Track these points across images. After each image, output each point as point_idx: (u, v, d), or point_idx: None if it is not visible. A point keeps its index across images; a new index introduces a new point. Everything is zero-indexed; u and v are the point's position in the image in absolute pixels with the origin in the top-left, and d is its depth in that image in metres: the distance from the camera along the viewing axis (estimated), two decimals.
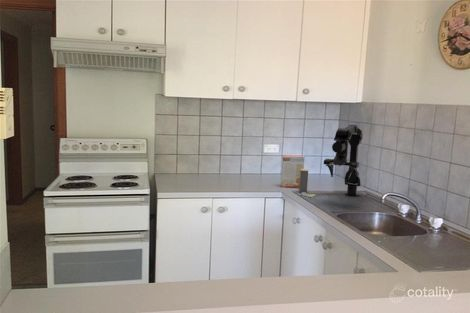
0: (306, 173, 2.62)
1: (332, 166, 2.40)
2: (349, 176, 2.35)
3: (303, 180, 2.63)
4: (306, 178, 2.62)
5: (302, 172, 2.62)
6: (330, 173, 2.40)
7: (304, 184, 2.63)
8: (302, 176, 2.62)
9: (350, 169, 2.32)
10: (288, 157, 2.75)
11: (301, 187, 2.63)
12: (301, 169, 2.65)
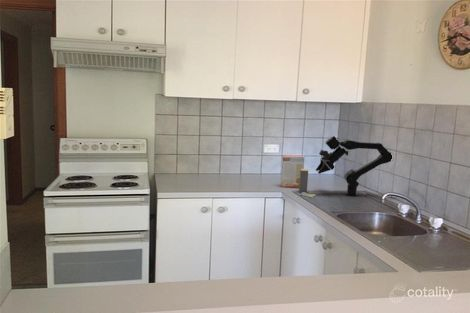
0: (306, 173, 2.62)
1: None
2: (320, 170, 2.58)
3: (303, 180, 2.63)
4: (306, 178, 2.62)
5: (302, 172, 2.62)
6: None
7: (304, 184, 2.63)
8: (302, 176, 2.62)
9: (323, 164, 2.57)
10: (288, 157, 2.75)
11: (301, 187, 2.63)
12: (301, 169, 2.64)
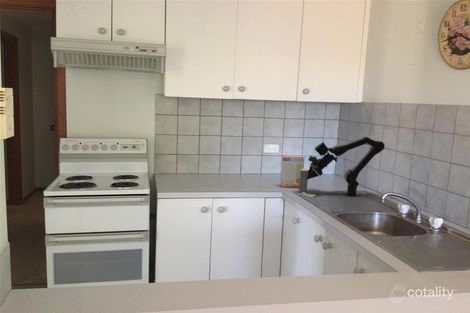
0: (306, 173, 2.62)
1: None
2: (308, 176, 2.59)
3: (303, 180, 2.63)
4: None
5: (302, 172, 2.62)
6: None
7: (304, 184, 2.63)
8: (302, 176, 2.62)
9: (312, 169, 2.58)
10: (288, 157, 2.75)
11: (301, 187, 2.63)
12: (301, 169, 2.64)
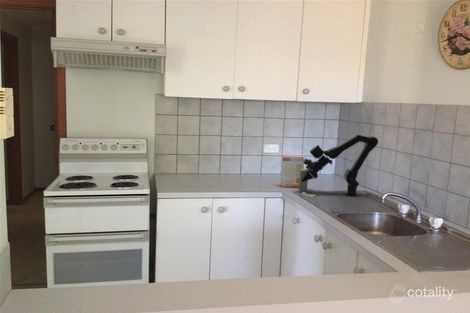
0: (306, 173, 2.62)
1: None
2: (303, 179, 2.62)
3: None
4: None
5: (302, 172, 2.62)
6: None
7: (304, 184, 2.63)
8: (302, 176, 2.62)
9: (307, 172, 2.60)
10: (288, 157, 2.75)
11: (301, 187, 2.63)
12: (301, 169, 2.64)
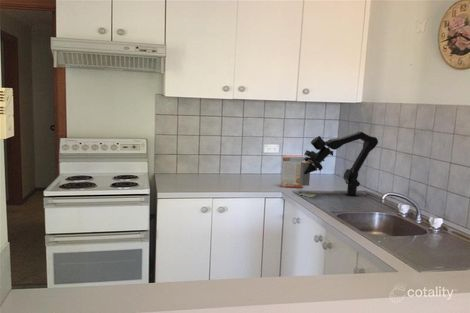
0: (308, 165, 2.54)
1: None
2: (306, 171, 2.54)
3: None
4: None
5: (305, 164, 2.54)
6: None
7: (306, 176, 2.55)
8: (304, 168, 2.54)
9: (310, 164, 2.53)
10: (288, 157, 2.75)
11: (303, 180, 2.55)
12: (302, 161, 2.56)
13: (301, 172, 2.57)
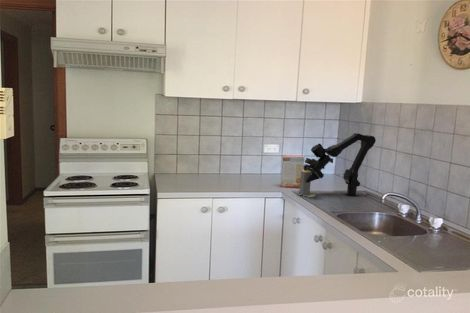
0: (309, 174, 2.53)
1: None
2: (308, 179, 2.50)
3: None
4: None
5: (305, 174, 2.52)
6: None
7: (307, 186, 2.54)
8: (305, 178, 2.53)
9: (312, 172, 2.49)
10: (288, 157, 2.75)
11: (304, 189, 2.53)
12: (303, 171, 2.54)
13: (301, 181, 2.55)
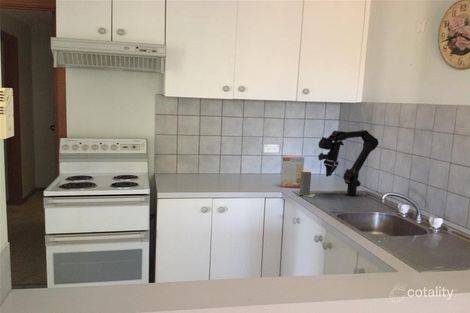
0: (309, 174, 2.53)
1: None
2: (326, 173, 2.52)
3: (306, 182, 2.53)
4: (309, 180, 2.53)
5: (305, 174, 2.52)
6: None
7: (307, 186, 2.54)
8: (305, 178, 2.53)
9: None
10: (288, 157, 2.75)
11: (304, 189, 2.53)
12: (303, 171, 2.54)
13: (301, 181, 2.55)
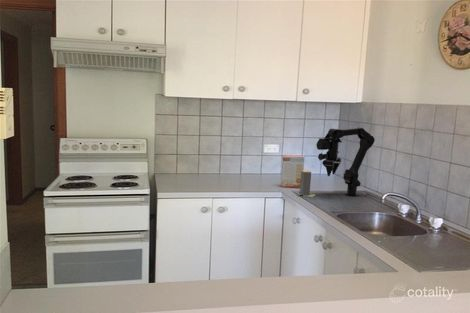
0: (309, 174, 2.53)
1: (335, 164, 2.60)
2: (327, 173, 2.52)
3: (306, 182, 2.53)
4: (309, 180, 2.53)
5: (305, 174, 2.52)
6: (332, 170, 2.61)
7: (307, 186, 2.54)
8: (305, 178, 2.53)
9: None
10: (288, 157, 2.75)
11: (304, 189, 2.53)
12: (303, 171, 2.54)
13: (301, 181, 2.55)
